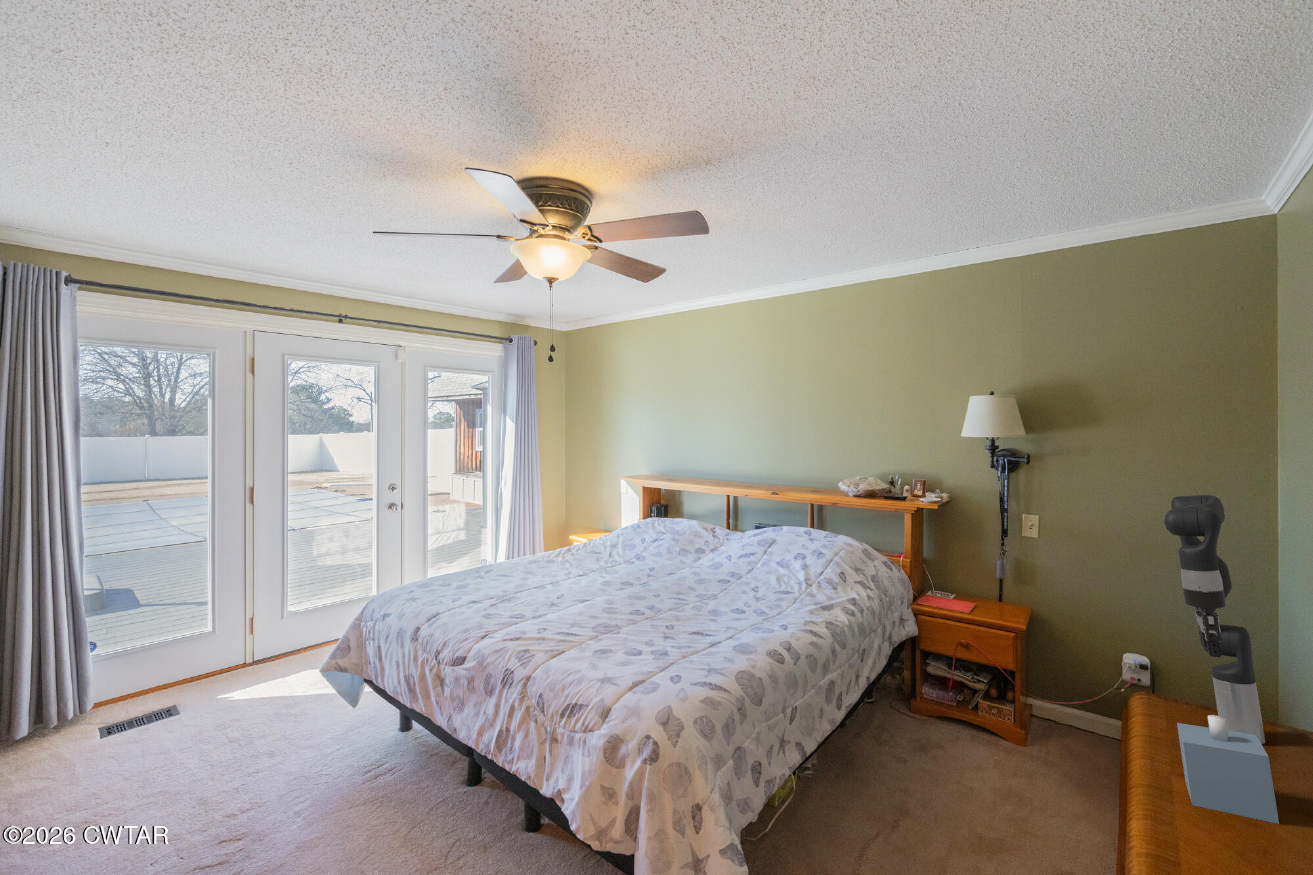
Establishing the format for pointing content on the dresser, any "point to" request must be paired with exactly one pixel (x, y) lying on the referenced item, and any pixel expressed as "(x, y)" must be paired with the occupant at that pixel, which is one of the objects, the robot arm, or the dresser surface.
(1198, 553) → the robot arm
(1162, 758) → the dresser surface
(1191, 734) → the block with white knob
